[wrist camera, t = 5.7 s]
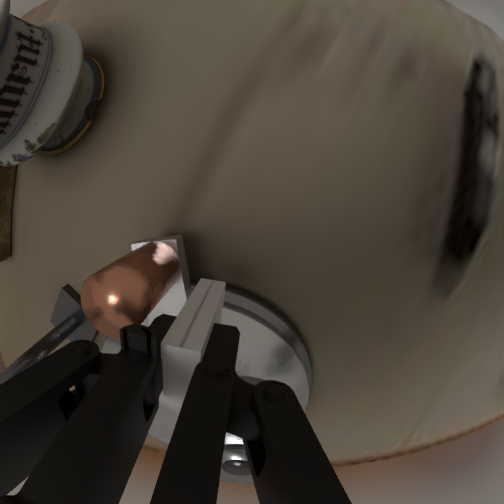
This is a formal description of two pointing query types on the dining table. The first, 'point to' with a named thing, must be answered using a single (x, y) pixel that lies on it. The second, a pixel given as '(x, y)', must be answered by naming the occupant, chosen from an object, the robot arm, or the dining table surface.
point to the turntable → (171, 302)
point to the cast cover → (236, 453)
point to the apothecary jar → (43, 87)
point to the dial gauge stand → (56, 332)
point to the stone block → (6, 209)
